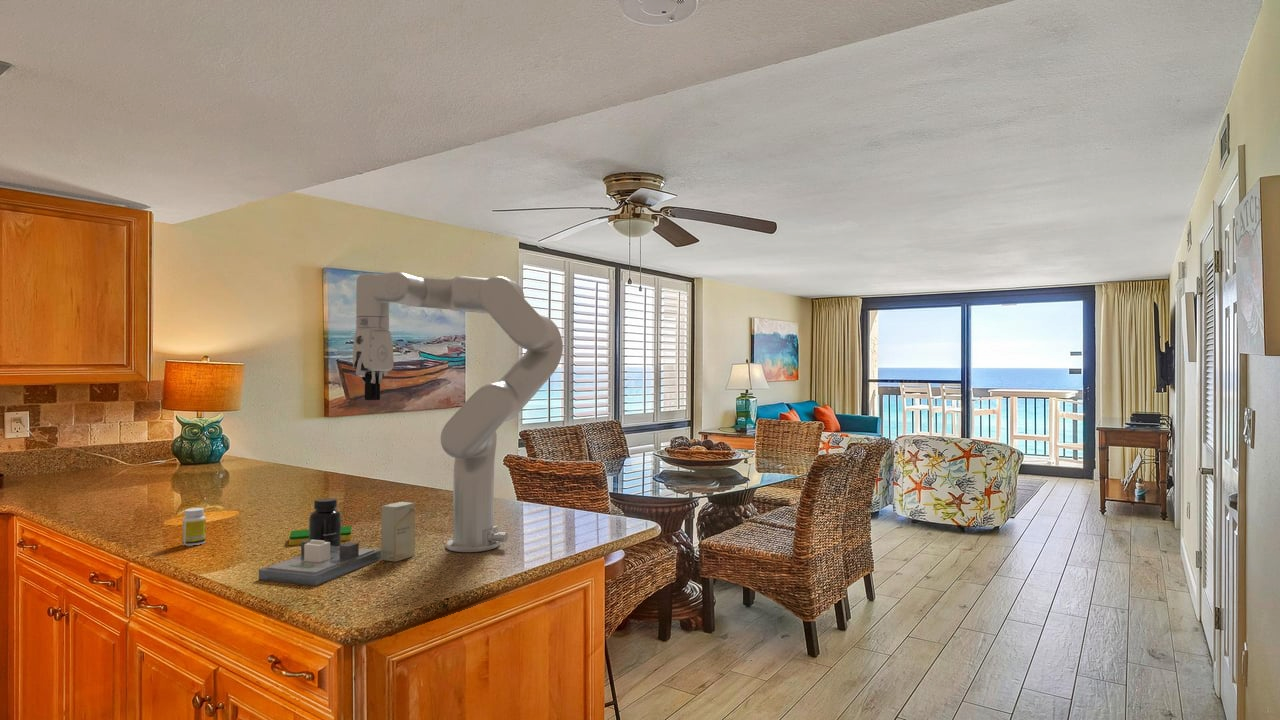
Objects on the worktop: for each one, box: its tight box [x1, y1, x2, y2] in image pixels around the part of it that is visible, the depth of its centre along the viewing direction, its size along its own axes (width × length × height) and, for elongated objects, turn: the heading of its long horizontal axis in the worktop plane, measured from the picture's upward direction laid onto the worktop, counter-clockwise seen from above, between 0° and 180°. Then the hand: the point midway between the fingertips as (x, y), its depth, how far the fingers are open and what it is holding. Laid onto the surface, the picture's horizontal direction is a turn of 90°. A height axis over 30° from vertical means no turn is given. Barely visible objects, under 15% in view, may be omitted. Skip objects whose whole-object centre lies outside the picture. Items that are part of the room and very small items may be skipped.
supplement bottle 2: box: [308, 497, 342, 546], centre depth 163 cm, size 7×7×12 cm
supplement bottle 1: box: [182, 507, 207, 547], centre depth 169 cm, size 5×5×8 cm
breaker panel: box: [258, 539, 381, 587], centre depth 148 cm, size 14×20×5 cm
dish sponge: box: [288, 525, 352, 546], centre depth 174 cm, size 7×14×2 cm, turn 112°
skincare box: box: [380, 501, 416, 562], centre depth 157 cm, size 6×4×12 cm
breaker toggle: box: [304, 540, 330, 563], centre depth 147 cm, size 4×3×4 cm
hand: (372, 399), depth 169 cm, fingers closed
